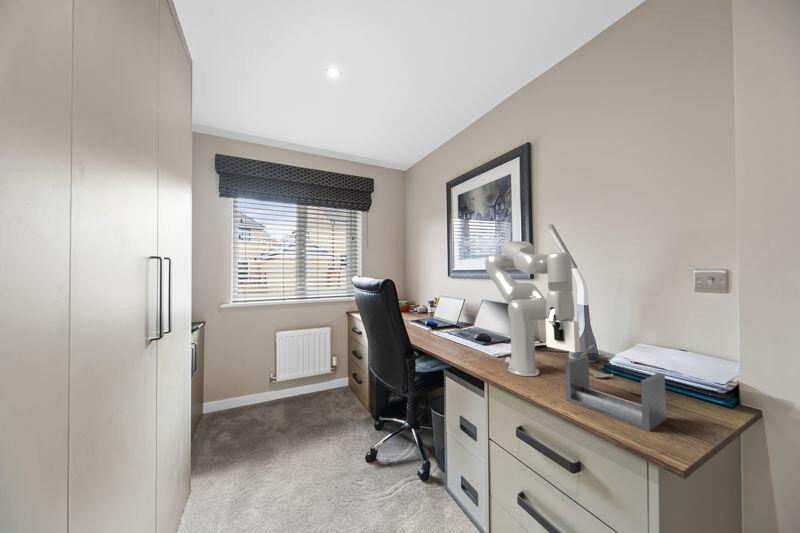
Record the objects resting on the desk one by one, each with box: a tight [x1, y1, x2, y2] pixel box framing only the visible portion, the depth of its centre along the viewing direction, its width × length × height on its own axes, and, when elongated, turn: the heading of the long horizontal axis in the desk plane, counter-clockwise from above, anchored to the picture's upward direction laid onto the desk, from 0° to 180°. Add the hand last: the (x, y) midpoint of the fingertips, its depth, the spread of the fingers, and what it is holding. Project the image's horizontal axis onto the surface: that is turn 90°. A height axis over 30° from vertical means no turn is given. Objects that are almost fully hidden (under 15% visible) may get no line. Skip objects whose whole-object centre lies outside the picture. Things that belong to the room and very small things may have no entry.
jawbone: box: [579, 344, 614, 379], centre depth 121 cm, size 14×8×15 cm
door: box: [545, 319, 581, 353], centre depth 98 cm, size 10×3×10 cm, turn 29°
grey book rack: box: [564, 355, 667, 432], centre depth 88 cm, size 22×12×13 cm, turn 30°
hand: (562, 339), depth 98 cm, fingers closed on door, 3 cm apart
